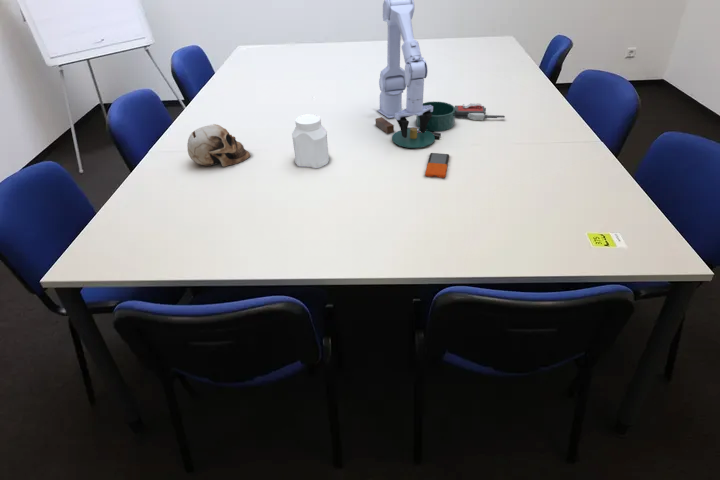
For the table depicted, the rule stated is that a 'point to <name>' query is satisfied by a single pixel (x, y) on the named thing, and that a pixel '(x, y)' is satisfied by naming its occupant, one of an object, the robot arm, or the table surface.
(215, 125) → the coin bank
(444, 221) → the table surface
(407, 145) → the tin lid
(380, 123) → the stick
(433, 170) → the phone
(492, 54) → the table surface
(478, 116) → the walkie-talkie
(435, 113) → the tin
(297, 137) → the jar
